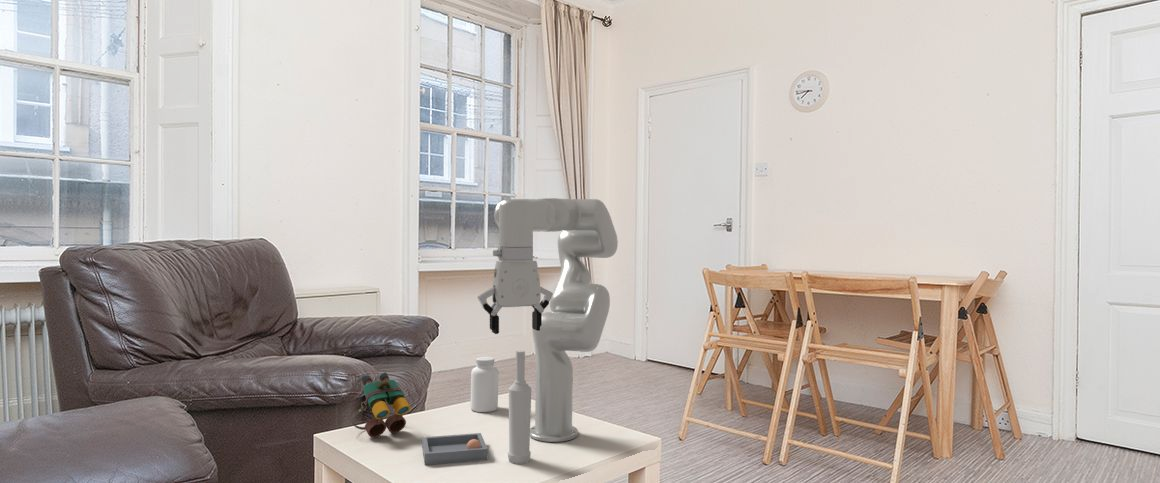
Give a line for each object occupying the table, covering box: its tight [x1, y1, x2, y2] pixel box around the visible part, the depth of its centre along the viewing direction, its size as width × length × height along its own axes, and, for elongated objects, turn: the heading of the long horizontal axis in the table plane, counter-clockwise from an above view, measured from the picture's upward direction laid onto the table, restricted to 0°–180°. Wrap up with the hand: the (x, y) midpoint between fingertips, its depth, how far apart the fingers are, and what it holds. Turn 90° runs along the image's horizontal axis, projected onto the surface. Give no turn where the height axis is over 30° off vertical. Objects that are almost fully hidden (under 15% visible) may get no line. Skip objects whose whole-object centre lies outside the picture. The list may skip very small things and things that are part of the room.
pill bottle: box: [470, 356, 499, 413], centre depth 191 cm, size 8×8×15 cm
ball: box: [467, 439, 481, 449], centre depth 151 cm, size 3×3×3 cm
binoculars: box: [350, 372, 411, 438], centre depth 169 cm, size 14×14×15 cm
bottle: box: [507, 350, 532, 465], centre depth 149 cm, size 5×5×25 cm
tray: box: [421, 432, 489, 466], centre depth 153 cm, size 12×14×2 cm
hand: (515, 331), depth 146 cm, fingers open, 9 cm apart
